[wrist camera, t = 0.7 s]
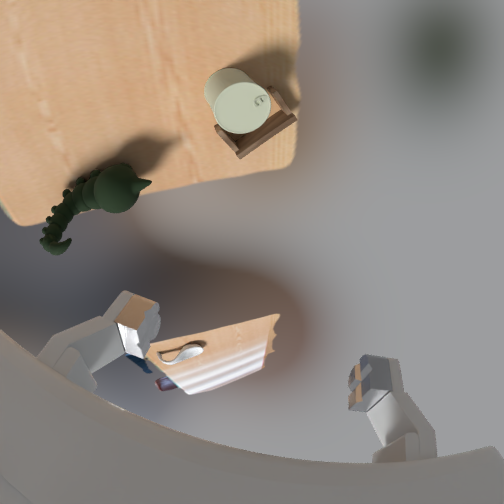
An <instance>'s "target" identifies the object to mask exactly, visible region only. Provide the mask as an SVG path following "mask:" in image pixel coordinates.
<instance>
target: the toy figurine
mask: <svg viewBox="0 0 504 504" xmlns="http://www.w3.org/2000/svg"><path fill="white" fill-rule="evenodd" d="M151 183H152V181H150V180H146V179H141V178H138V177H137V175H136V173H135V172H134V171H133V170H132V168H131V166H130V165H129V164H125V163H121V164H119V165H113V166H110V167H108V168H106V169H105V170H103V171H102V172H100V170H94V171H92V172H91V175H90V179H89V180H88V181H87V182H86V183H85V180H84V179H83V178H78V180H77V181H76V184H77V186H76V187H75V188H74V190H73V192H71V191H70V190H69V189H65V190H64V191H63V197H64V199H63V203H60V204H59V205H58V206H53V207H52V209H51V211H52V213H54V215H53V216H52V217H50V216H48V217H47V218H46V222H47V223H49V226H48V227H44V228H43V229H42V232H43V234H45V237H44V238H41V239H40V244H41V245H42V246H43V248H44V249H45V250H46V251H48V252H50V253H51V254H53V255H60V254H62V253H64V252H65V251H66V250H67V248H68V247H69V245H70V244H71V241H72V240H71V238H69V239H67V240H66V241H63V242H59V241H60V239H61V238H62V232H64V231H65V229H66V228H67V225H68V223H69V222H70V221H71V220H72V218H73V216H74V215H77V214H79V213H80V212H81V211H82V212H84V211H89V210H91V209H101V208H102V209H104V210H105V211H107V212H110V213H121V212H125V211H127V210H128V209H130V208H131V207H132V206H133V205H134V204H135V202H136V201H137V199H138V197H139V194H140V191H141V190H142V189H144V188H146V187H147V186H149V185H150V184H151ZM58 242H59V243H58Z"/></svg>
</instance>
